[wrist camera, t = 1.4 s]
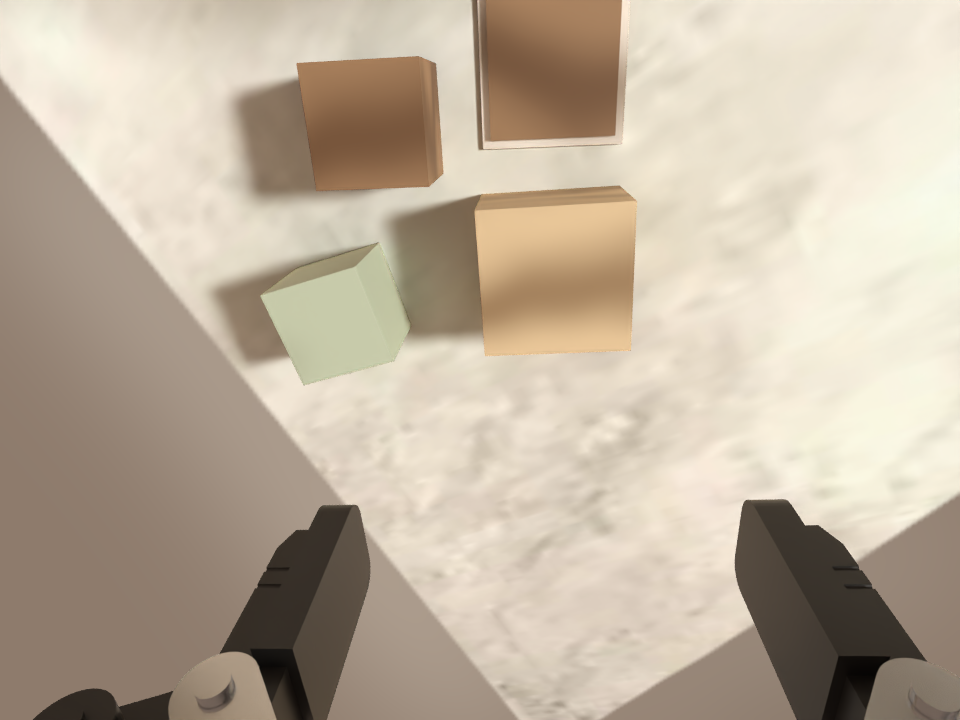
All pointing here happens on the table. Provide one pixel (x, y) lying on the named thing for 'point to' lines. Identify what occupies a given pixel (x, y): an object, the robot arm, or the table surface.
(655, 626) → the table surface
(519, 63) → the walnut swatch
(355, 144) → the walnut cube
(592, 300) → the oak base block
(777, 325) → the table surface
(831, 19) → the table surface
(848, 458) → the table surface
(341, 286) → the sage cube
